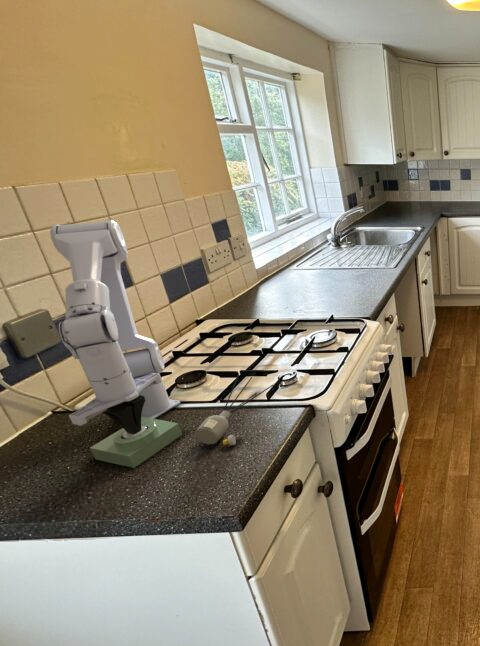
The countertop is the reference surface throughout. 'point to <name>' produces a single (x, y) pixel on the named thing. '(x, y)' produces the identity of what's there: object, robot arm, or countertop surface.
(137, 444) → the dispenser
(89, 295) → the robot arm
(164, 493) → the countertop surface
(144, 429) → the white round button
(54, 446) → the countertop surface
